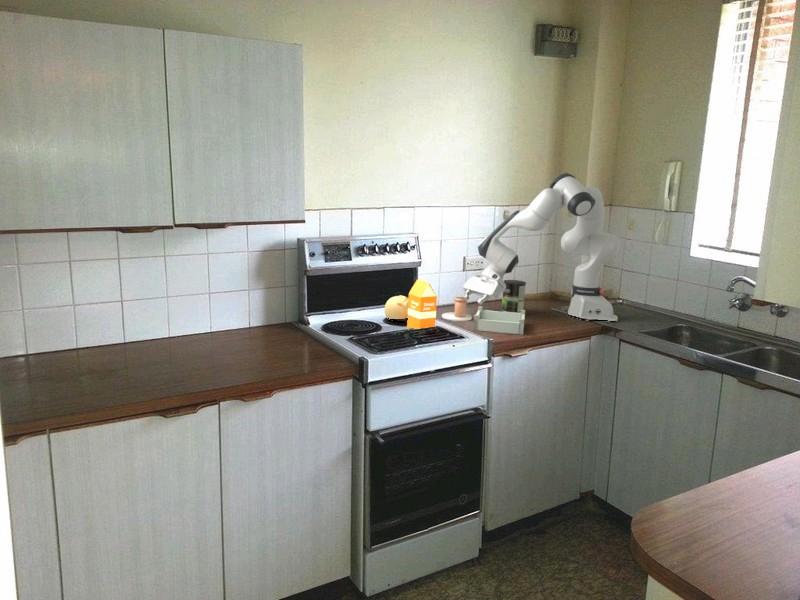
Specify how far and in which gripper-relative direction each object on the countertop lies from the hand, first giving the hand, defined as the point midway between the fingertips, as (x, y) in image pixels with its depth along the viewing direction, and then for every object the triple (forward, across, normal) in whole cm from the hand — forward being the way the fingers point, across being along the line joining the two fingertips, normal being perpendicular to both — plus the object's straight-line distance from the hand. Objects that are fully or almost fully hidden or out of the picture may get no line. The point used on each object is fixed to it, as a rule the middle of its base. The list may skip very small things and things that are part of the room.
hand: (472, 301), depth 298 cm
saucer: (+10, 0, -1) cm, 11 cm away
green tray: (+6, +21, +3) cm, 22 cm away
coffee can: (-13, 0, +23) cm, 26 cm away
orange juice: (+31, +12, -21) cm, 39 cm away
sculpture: (+30, -6, -20) cm, 36 cm away
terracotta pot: (+10, +2, -2) cm, 10 cm away
